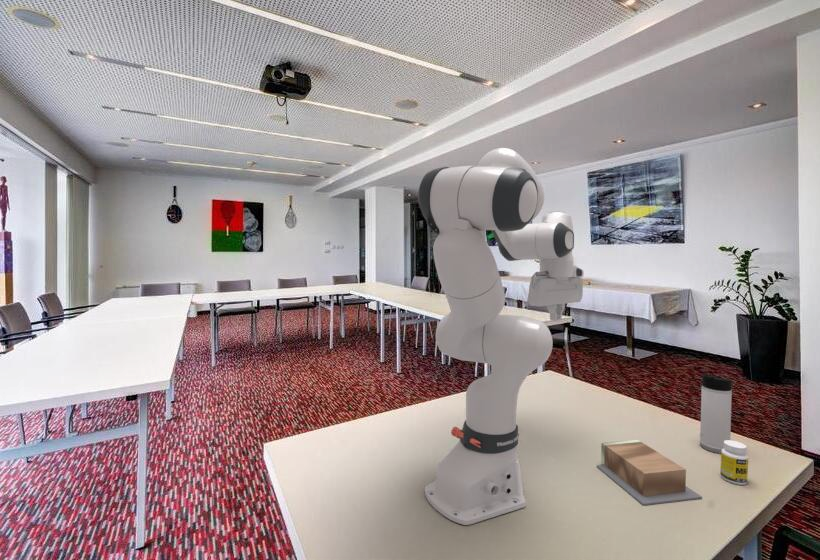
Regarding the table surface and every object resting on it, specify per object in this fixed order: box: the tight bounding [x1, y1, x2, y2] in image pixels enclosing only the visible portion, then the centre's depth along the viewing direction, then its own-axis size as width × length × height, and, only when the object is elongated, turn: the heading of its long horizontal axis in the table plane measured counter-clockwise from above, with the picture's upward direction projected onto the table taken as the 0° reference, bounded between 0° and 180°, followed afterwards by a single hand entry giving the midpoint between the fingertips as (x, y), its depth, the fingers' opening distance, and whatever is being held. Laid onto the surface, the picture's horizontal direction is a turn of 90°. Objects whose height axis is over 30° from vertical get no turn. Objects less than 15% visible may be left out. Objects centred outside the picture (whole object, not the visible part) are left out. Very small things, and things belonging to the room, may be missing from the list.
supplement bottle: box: [719, 439, 749, 486], centre depth 87 cm, size 5×5×8 cm
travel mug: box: [699, 373, 733, 455], centre depth 101 cm, size 6×7×20 cm
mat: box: [596, 464, 703, 507], centre depth 86 cm, size 15×14×1 cm
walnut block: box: [600, 439, 687, 497], centre depth 88 cm, size 5×10×14 cm
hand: (555, 320), depth 106 cm, fingers closed
